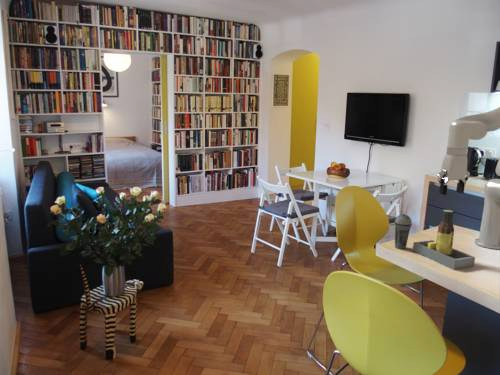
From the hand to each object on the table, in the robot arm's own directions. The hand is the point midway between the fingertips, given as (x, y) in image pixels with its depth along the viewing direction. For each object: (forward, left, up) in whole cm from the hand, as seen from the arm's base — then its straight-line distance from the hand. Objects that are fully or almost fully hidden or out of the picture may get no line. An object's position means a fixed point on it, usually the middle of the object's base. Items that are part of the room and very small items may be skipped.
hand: (451, 193), depth 169 cm
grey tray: (+1, +1, -28) cm, 28 cm away
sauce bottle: (+1, +1, -27) cm, 27 cm away
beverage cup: (+9, -15, -28) cm, 34 cm away
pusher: (+1, -5, -27) cm, 28 cm away
